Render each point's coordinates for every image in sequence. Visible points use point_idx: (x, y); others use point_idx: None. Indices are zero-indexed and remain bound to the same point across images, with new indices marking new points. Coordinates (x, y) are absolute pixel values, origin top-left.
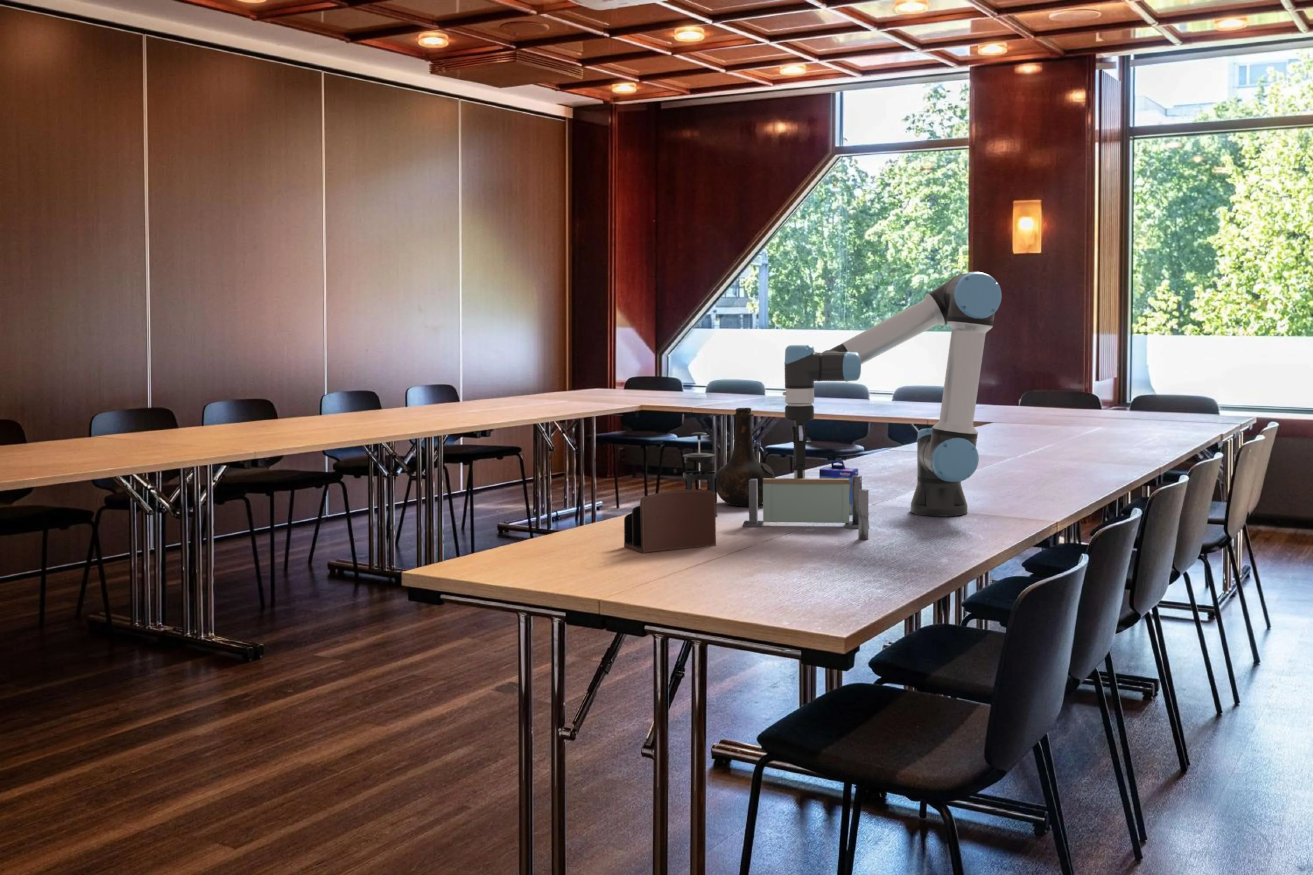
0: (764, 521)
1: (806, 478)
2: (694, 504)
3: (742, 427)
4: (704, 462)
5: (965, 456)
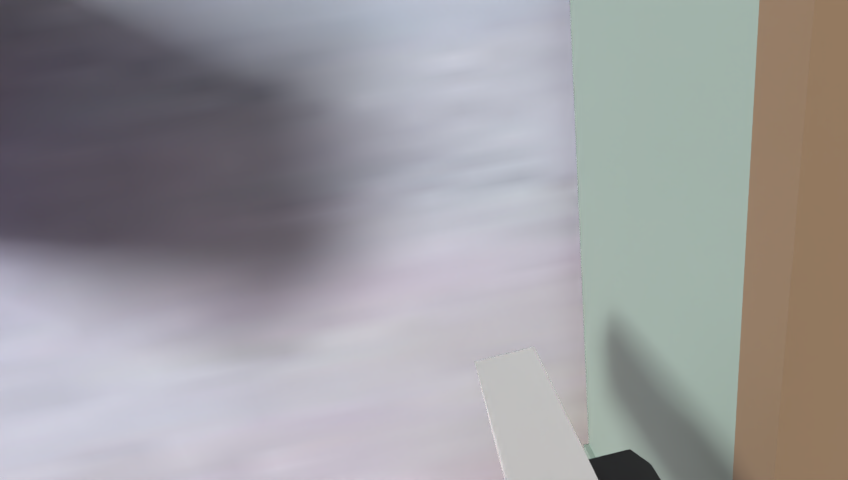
0: None
1: (778, 433)
2: None
3: None
4: None
5: None
